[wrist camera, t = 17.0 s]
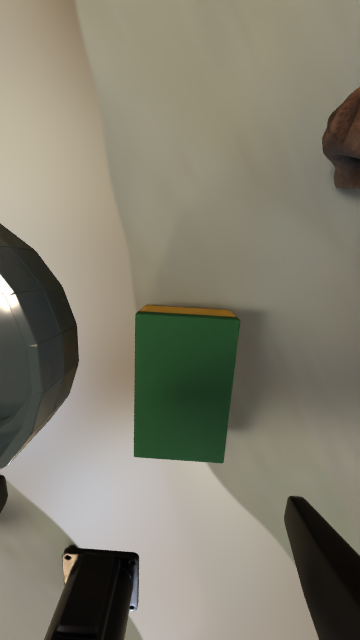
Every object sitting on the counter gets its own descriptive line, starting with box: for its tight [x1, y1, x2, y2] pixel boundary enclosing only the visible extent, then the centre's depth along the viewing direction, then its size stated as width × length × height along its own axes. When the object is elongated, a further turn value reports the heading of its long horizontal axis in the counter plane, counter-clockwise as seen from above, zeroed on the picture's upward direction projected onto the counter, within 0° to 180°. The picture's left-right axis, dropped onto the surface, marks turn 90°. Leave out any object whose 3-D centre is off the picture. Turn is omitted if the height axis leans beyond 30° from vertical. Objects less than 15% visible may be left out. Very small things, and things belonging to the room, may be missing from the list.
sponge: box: [134, 305, 240, 463], centre depth 14 cm, size 9×6×3 cm, turn 177°
